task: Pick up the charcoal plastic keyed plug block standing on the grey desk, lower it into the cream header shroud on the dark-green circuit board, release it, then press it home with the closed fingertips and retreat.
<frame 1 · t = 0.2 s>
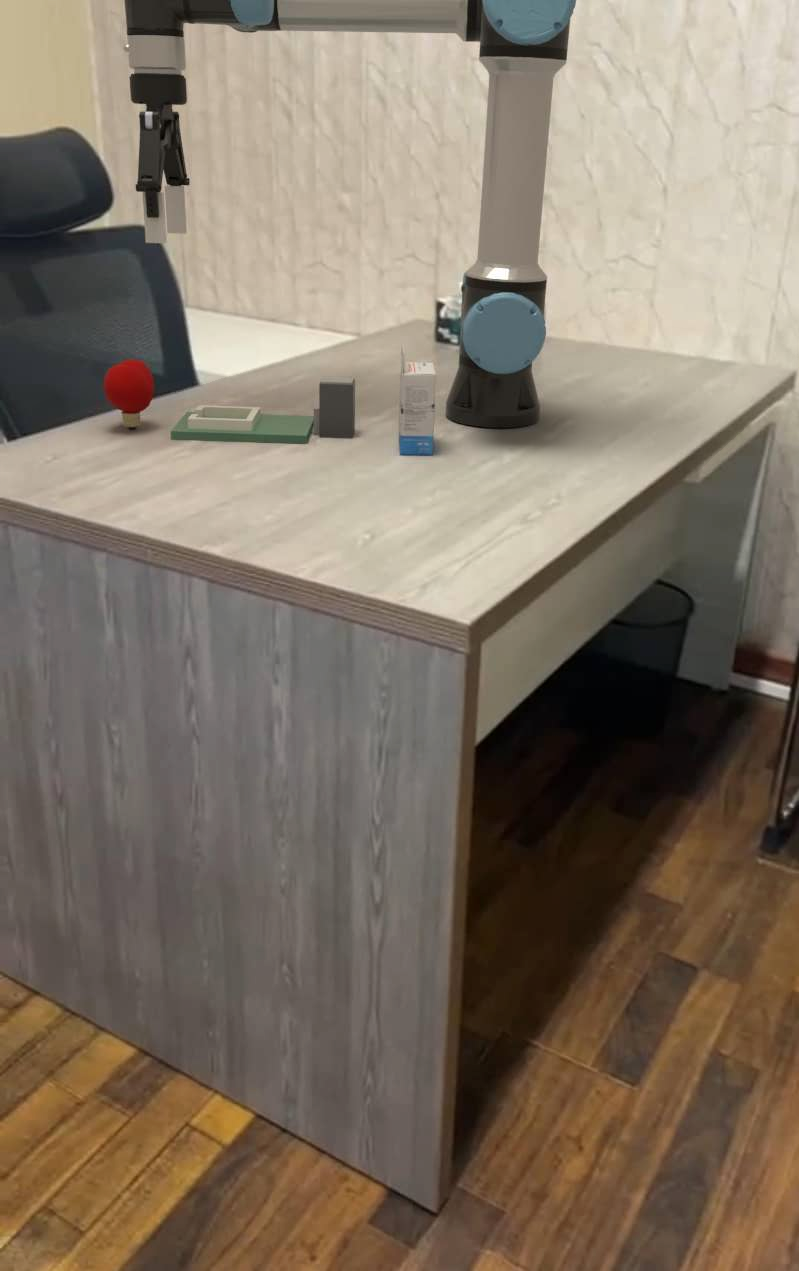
hand: (166, 238, 166), 27 cm above the table, fingers open, 13 cm apart
ink box: (415, 449, 170), on the table
plug: (337, 434, 176), on the table
board: (245, 431, 176), on the table
light bulb: (132, 430, 176), on the table
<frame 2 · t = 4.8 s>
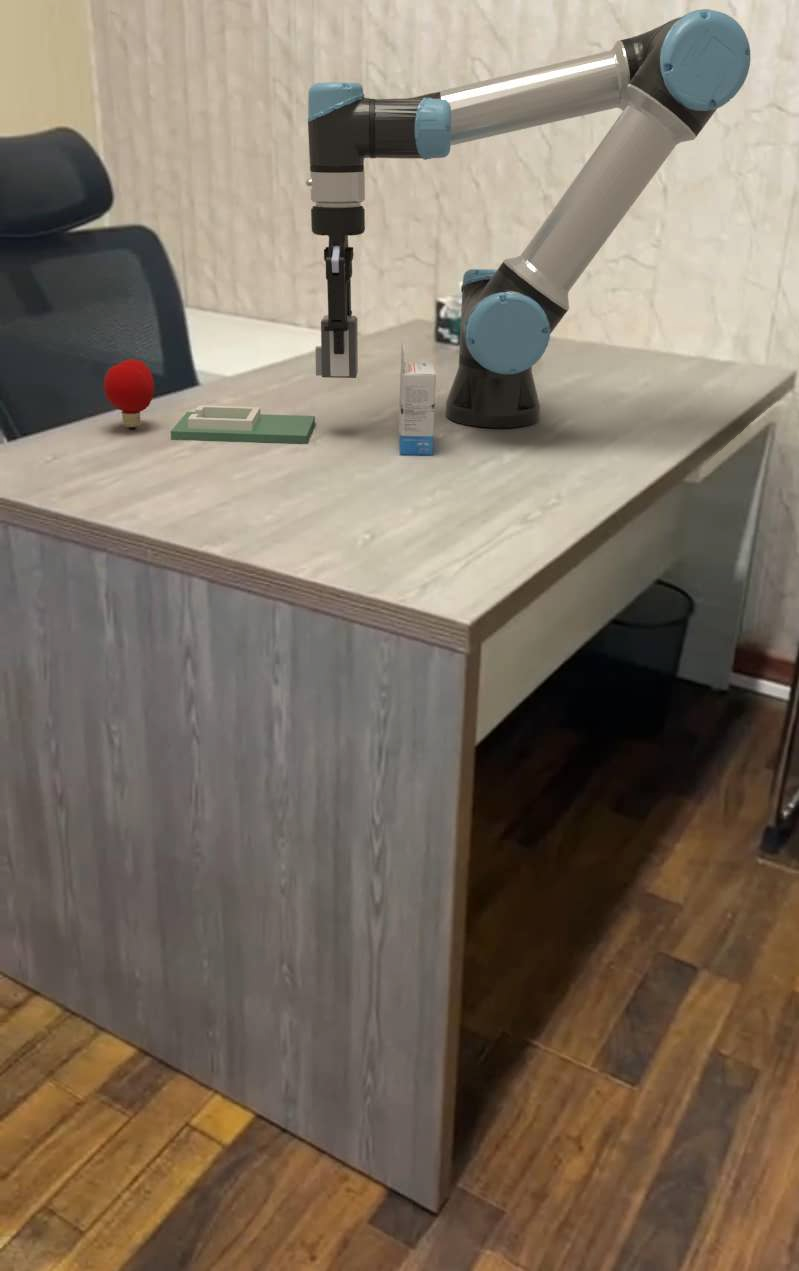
hand: (341, 372, 172), 9 cm above the table, fingers closed on plug, 4 cm apart
plug: (339, 374, 172), point 9 cm above the table, touching gripper
everything else where it was.
when the fingers open (3 cm above the table, at t = 8.0 s): plug stays where it is, resting on board.
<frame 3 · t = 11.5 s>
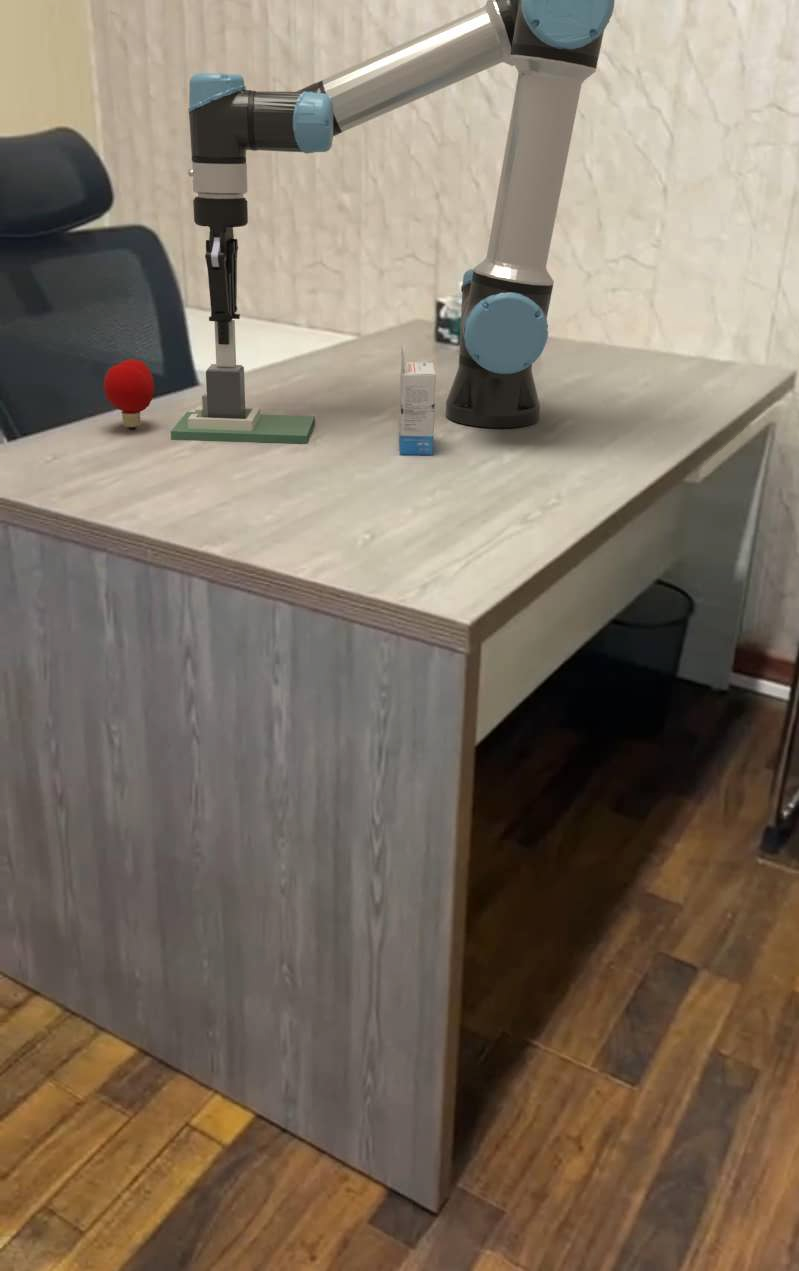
hand: (226, 365, 172), 10 cm above the table, fingers closed
plug: (227, 422, 176), point 1 cm above the table, touching board, gripper
everything else where it was.
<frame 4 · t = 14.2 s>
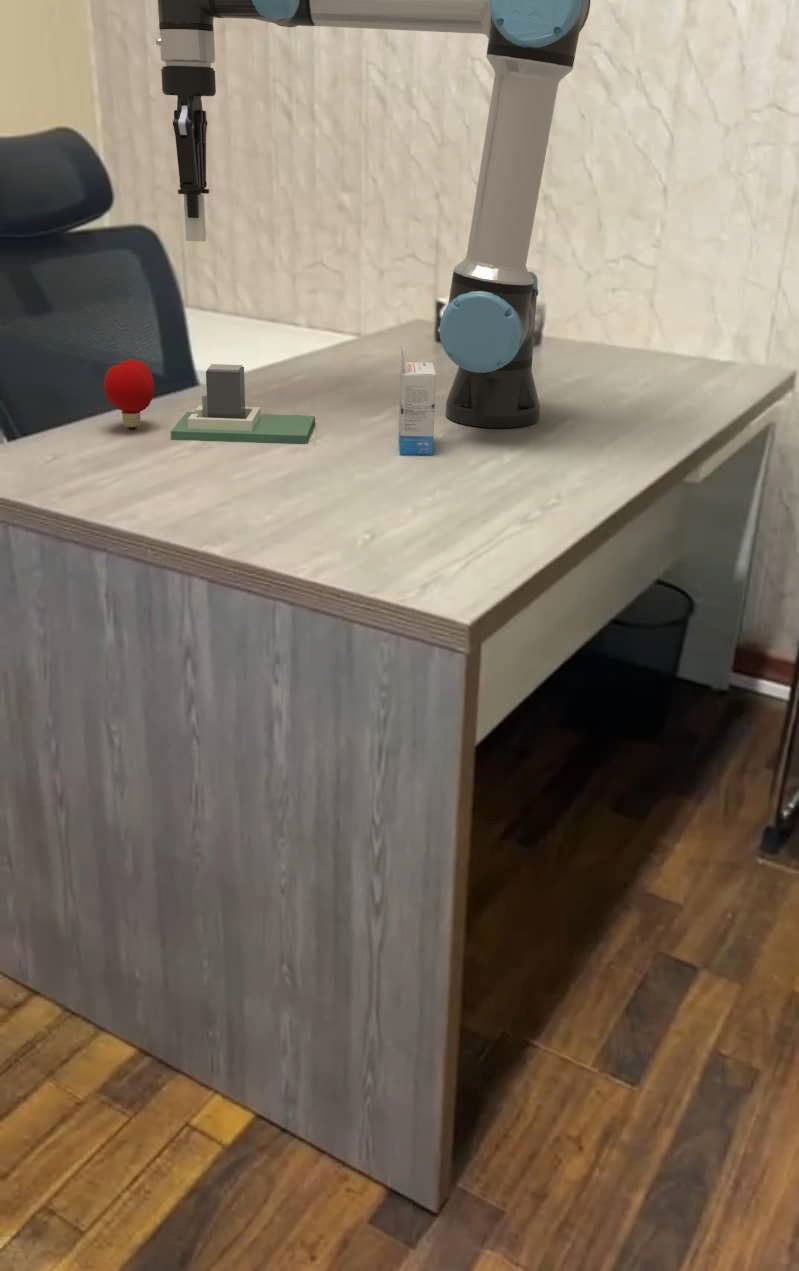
hand: (195, 240, 174), 26 cm above the table, fingers closed
plug: (227, 422, 176), point 1 cm above the table, touching board
everything else where it was.
at the end: plug 0.2 cm from the target spot on the board, point 1.3 cm above the board's base; plug tilted 0°; the gripper is holding nothing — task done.
